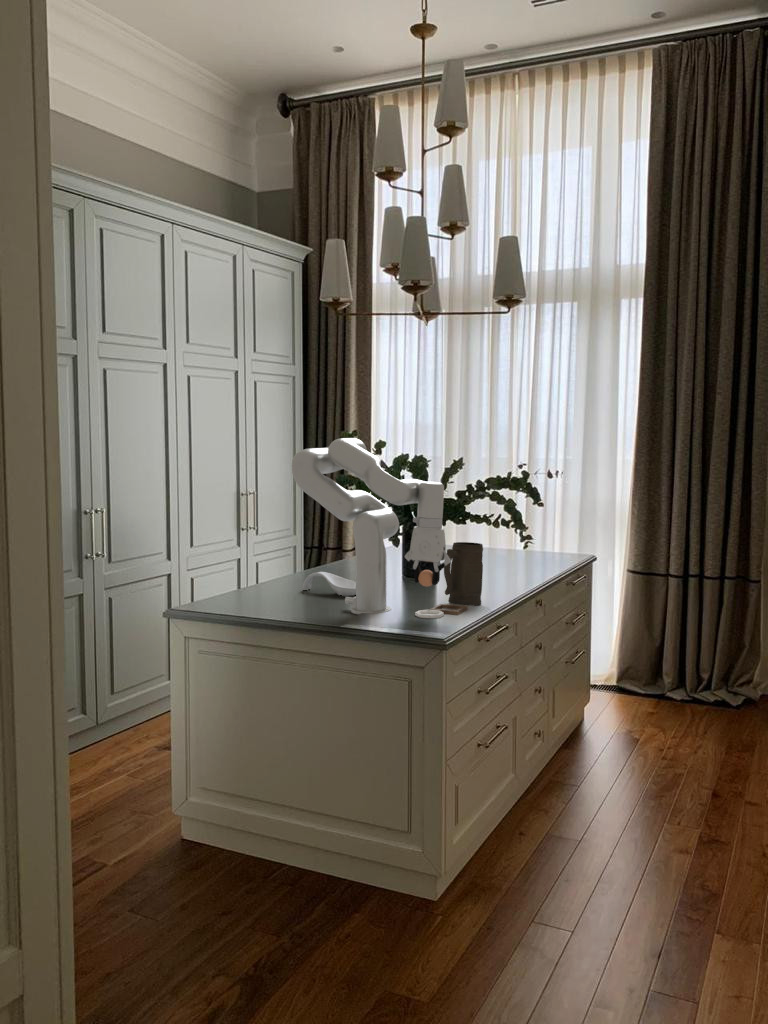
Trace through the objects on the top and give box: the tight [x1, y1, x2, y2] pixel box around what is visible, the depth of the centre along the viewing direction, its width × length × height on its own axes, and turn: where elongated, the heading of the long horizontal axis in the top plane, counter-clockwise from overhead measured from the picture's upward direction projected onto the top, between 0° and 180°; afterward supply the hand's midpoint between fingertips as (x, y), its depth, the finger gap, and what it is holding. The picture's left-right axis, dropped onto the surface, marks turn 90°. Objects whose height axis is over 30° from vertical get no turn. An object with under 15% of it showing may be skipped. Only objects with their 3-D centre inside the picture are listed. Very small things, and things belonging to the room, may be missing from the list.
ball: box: [418, 569, 434, 588], centre depth 276 cm, size 5×5×5 cm
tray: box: [429, 603, 468, 616], centre depth 283 cm, size 9×9×2 cm
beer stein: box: [443, 541, 484, 606], centre depth 297 cm, size 15×11×20 cm
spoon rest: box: [301, 571, 356, 597], centre depth 318 cm, size 24×12×7 cm, turn 62°
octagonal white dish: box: [414, 609, 445, 619], centre depth 276 cm, size 8×8×2 cm
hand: (426, 582), depth 276 cm, fingers closed on ball, 4 cm apart
